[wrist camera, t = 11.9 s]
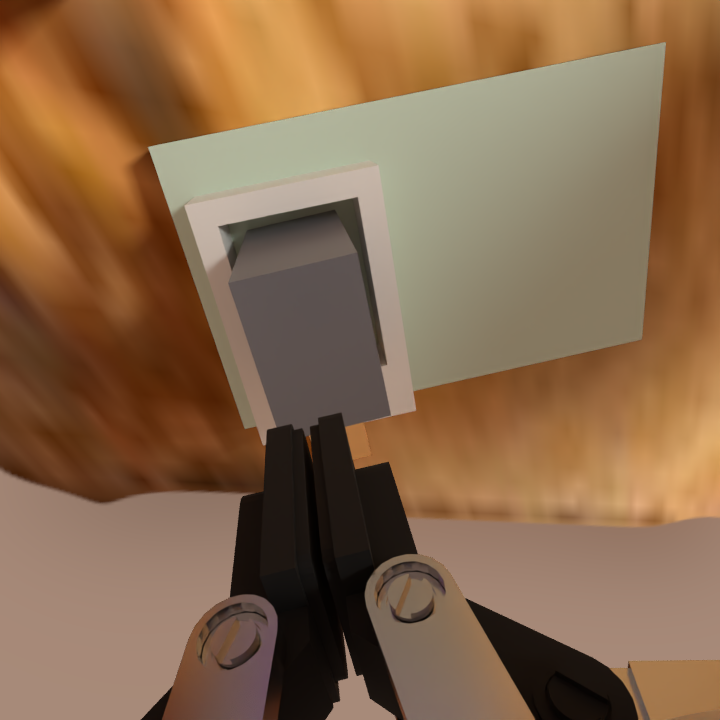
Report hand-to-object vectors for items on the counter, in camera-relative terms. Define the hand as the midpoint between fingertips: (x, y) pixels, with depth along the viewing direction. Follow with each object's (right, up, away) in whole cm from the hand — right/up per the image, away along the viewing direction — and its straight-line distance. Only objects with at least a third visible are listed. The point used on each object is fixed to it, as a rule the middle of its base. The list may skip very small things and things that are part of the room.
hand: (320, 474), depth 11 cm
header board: (+4, +8, +14) cm, 17 cm away
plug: (-2, +6, +12) cm, 14 cm away
